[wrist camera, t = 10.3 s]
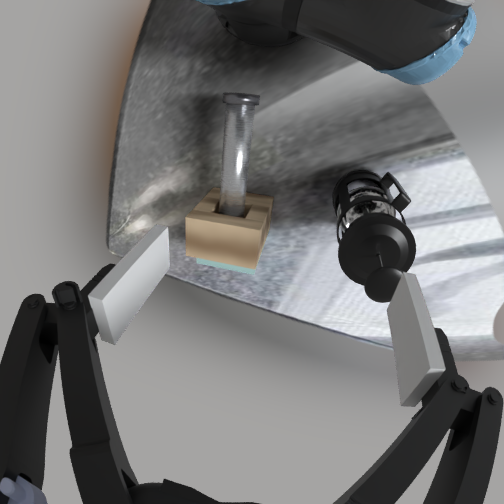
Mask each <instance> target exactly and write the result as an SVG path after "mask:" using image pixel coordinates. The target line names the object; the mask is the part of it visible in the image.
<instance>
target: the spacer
mask: <svg viewBox="0 0 504 504" xmlns="http://www.w3.org/2000/svg"><path fill="white" fill-rule="evenodd" d="M263 247H264V246H263ZM262 250H263V249H262ZM261 253H262V252H261ZM260 256H261V255H260ZM259 259H260V258H259ZM197 263H199V264H204V265H209V266H214V267H218V268H223V269H228V270H233V271H238V272H243V273H248V274H252V275H254V273H255V270H256V269H250V268H245V267H240V266H235V265H230V264H225V263H220V262H215V261H210V260H205V259H200V258H197ZM257 264H258V263H257ZM256 267H257V266H256Z"/></svg>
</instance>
